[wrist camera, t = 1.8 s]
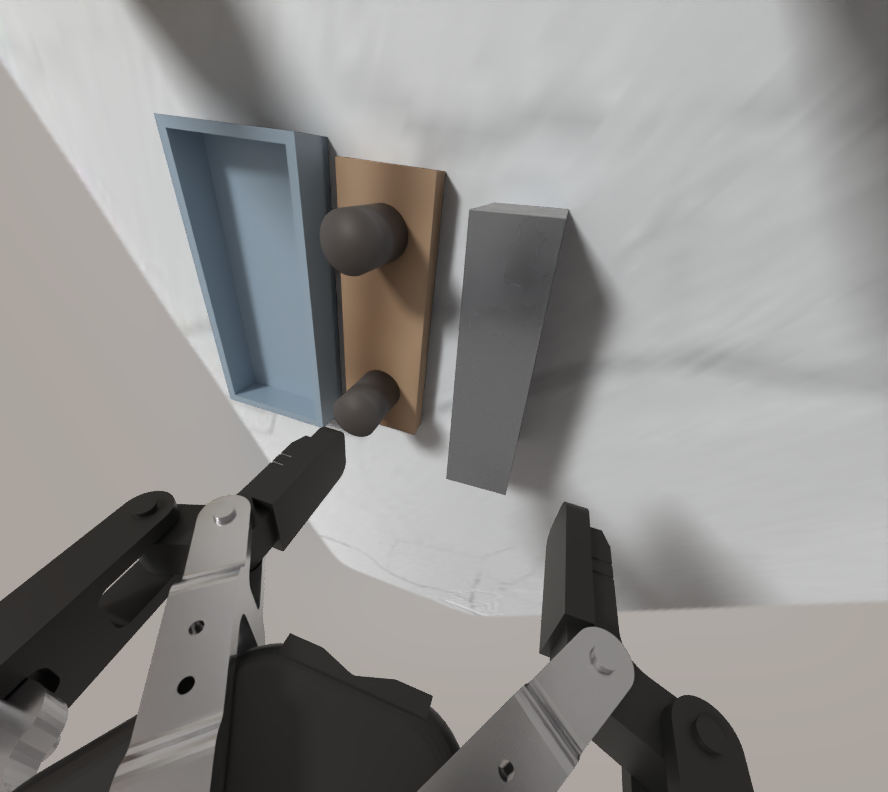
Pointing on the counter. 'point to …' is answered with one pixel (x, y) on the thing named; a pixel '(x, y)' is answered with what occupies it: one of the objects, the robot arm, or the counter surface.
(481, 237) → the steel bar
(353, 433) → the peg rack
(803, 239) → the counter surface
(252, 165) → the slot tray
